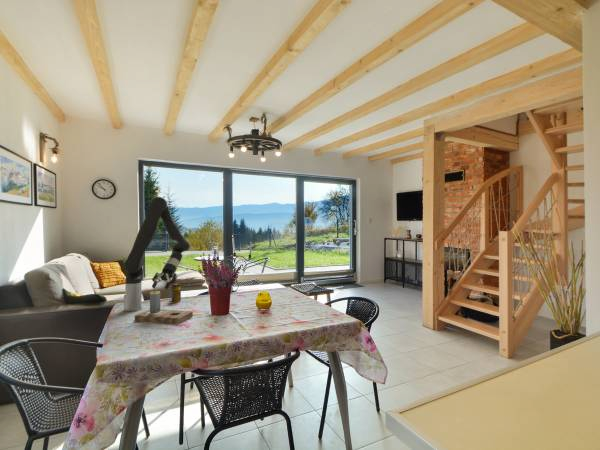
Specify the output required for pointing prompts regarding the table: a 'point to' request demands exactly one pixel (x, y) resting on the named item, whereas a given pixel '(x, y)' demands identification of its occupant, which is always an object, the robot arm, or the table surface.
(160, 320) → the rack foot plate
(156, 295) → the grey upright cylinder
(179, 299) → the condiment
